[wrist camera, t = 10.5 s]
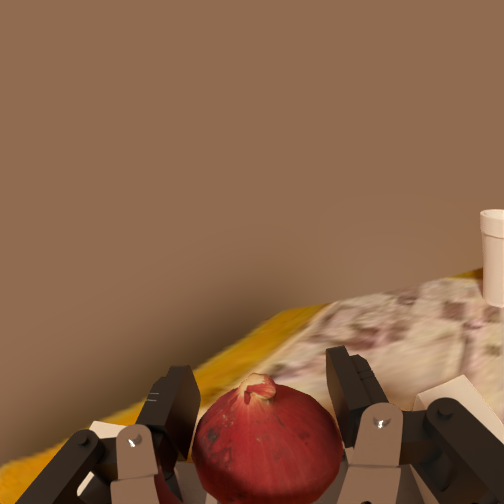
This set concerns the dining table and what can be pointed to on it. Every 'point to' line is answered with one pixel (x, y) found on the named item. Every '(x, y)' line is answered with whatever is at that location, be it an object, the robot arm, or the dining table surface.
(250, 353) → the dining table surface
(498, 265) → the foam cup
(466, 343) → the dining table surface
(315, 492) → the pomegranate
